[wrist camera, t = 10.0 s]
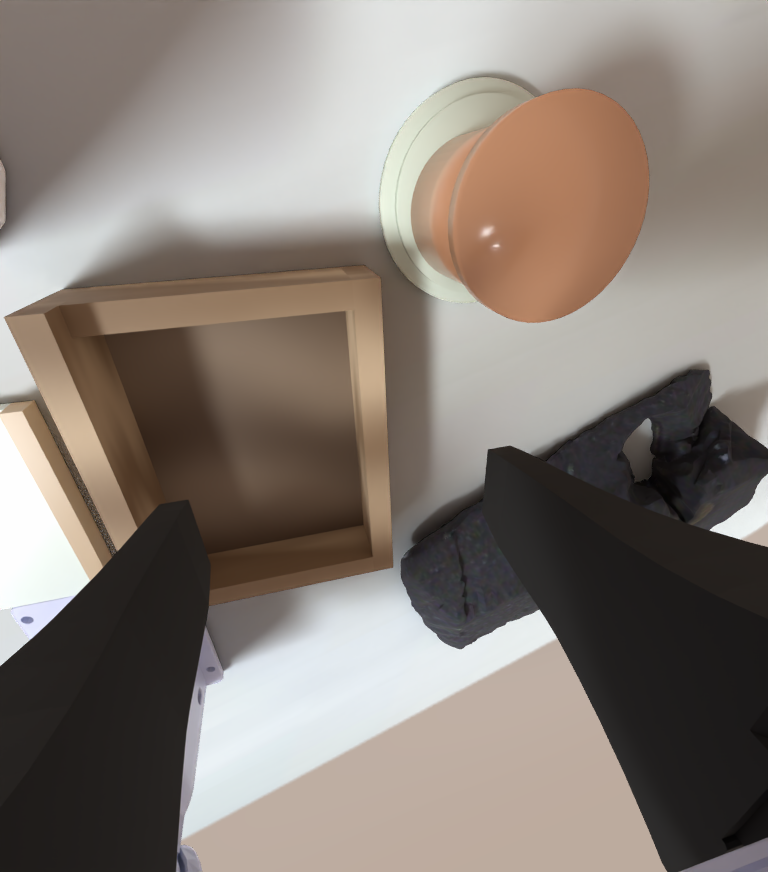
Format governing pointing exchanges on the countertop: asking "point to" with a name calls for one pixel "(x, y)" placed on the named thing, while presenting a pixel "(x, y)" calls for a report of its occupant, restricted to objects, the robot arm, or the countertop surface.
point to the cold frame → (228, 415)
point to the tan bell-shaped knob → (535, 204)
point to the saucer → (411, 150)
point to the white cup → (2, 195)
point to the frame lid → (41, 515)
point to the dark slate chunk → (603, 468)
